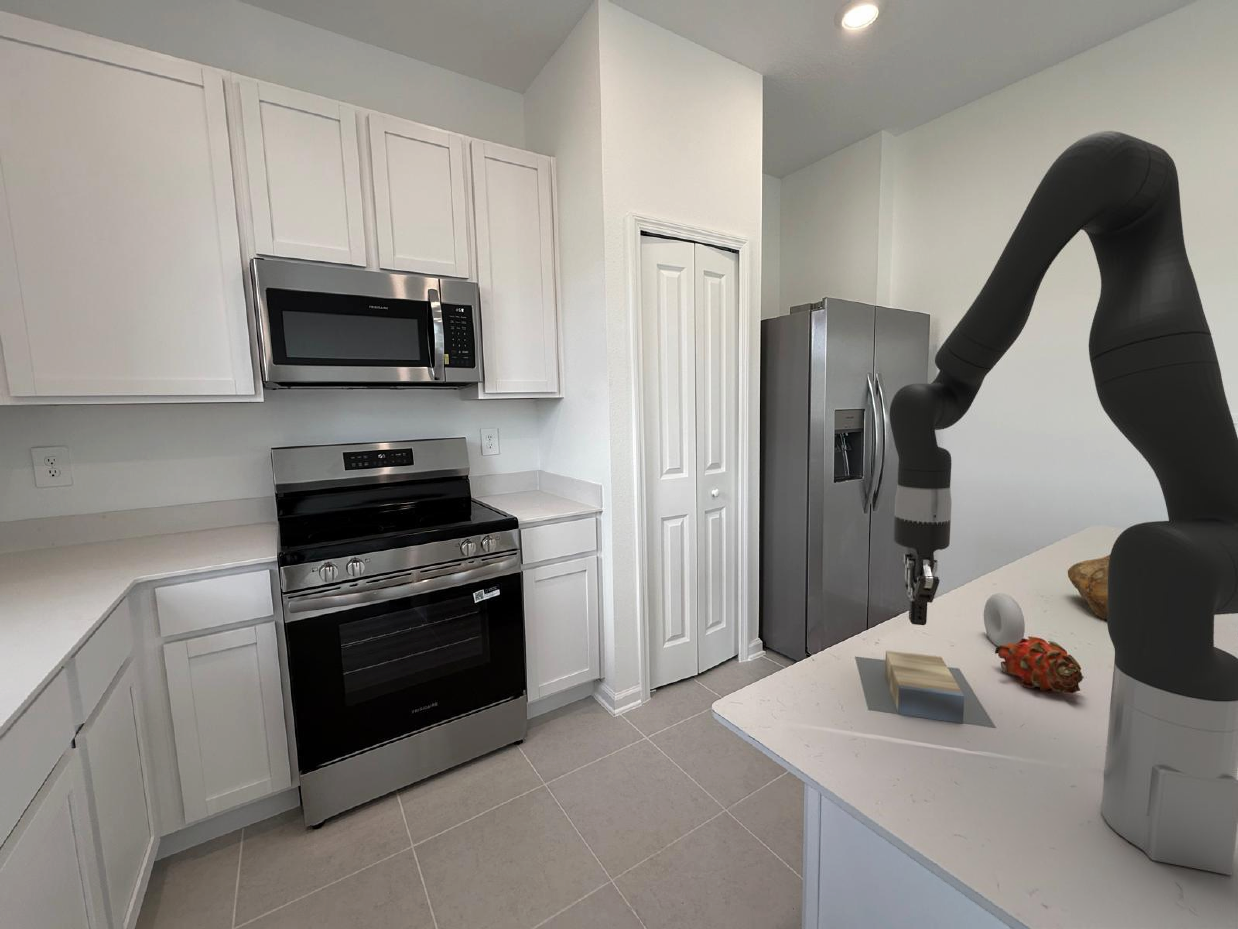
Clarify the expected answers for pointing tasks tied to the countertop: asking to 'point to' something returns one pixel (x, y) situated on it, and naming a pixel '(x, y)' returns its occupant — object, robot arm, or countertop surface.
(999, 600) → the donut
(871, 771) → the countertop surface
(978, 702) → the rubber mat
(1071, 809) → the countertop surface
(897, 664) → the maple block
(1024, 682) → the dragon fruit
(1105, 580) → the rough brown rock
